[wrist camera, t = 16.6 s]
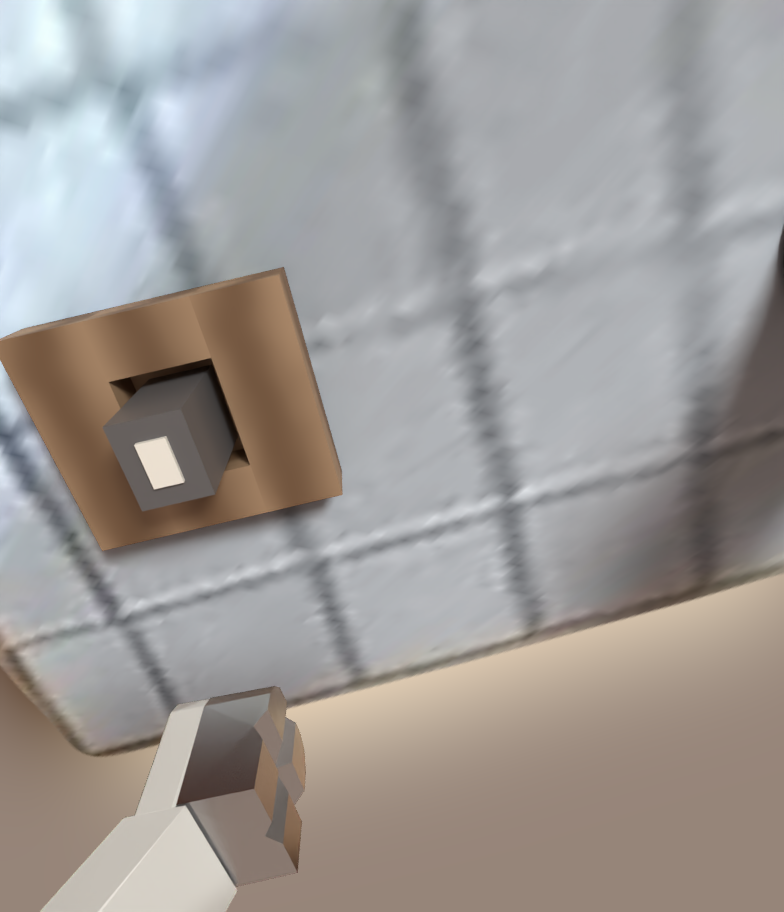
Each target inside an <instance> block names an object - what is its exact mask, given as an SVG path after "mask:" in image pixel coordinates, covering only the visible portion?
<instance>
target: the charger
mask: <svg viewBox="0 0 784 912" xmlns="http://www.w3.org/2000/svg"><path fill="white" fill-rule="evenodd" d="M102 428H103V430H104V432H105V434H106V436H107V438H108V440H109V443H110V445H111V447H112V449H113V451H114V453H115V455H116V457H117V459H118V461H119V464H120V466H121V468H122V470H123V472H124V474H125V476H126V478H127V480H128V482H129V485H130V487H131V489H132V491H133V493H134V495H135V497H136V499H137V501H138V504H139V506H140V508H141V510H142V511H147V510H151V509H155V508H160V507H164V506H168V505H172V504H177V503H181V502H185V501H190V500H194V499H198V498H203V497H207V496H211V495H215V494H216V491H217V489H218V486H219V483H220V481H221V478H222V476H223V473H224V470H225V468H226V465H227V463H228V460H229V458H230V455H231V452H232V450H233V447H234V445H235V442H236V439H237V437H238V435H237V432H236V430H235V427H234V424H233V421H232V419H231V416H230V413H229V410H228V408H227V405H226V402H225V399H224V397H223V394H222V391H221V388H220V386H219V383H218V380H217V377H216V375H215V372H214V369H213V366H212V364H211V365H207V366H203V367H198V368H194V369H190V370H186V371H181V372H177V373H173V374H168V375H164V376H160V377H156V378H151V379H149V380H148V381H147V382H146V383H145V384H144V385H143V386H142V387H141V388H140V389H139V390H138V391H137V392H136V393H135V394H134V395H133V396H132V397H131V398H130V399H129V400H128V401H127V402H126V403H125V404H124V406H123V407H122V408H121V409H120V410H119V411H118V412H117V413H116V414H115V415H114V416H113V417H112V418H111V419H110V420H109V421H108V422H107V423H106V424H105V425H104V426H103V427H102Z"/></svg>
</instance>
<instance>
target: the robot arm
mask: <svg viewBox="0 0 784 912" xmlns="http://www.w3.org/2000/svg"><path fill="white" fill-rule="evenodd" d="M286 708H287V701H286V699H285V697H284V695H283V693H282V691H281V689H280V687H275V686H273V687H268V688H262V689H257V690H251V691H246V692H240V693H235V694H229V695H224V696H218V697H213V698H210V699H206V700H200V701H195V702H189V703H184V704H178V705H177V706H176V707H175V709H174V710H173V711H172V712H171V714H170V715H169V718H168V721H167V724H166V727H165V729H164V732H163V735H162V738H161V741H160V744H159V746H158V750H157V752H156V755H155V758H154V761H153V764H152V766H151V770H150V772H149V775H148V778H147V781H146V784H145V786H144V789H143V792H142V795H141V798H140V801H139V804H138V807H137V809H136V812H135V815H134V816H129V817H125V818H123V819H122V820H121V821H120V822H119V824H118V825H117V826H116V827H115V828H114V829H113V830H112V831H111V832H110V834H109V835H108V836H107V837H106V838H105V839H104V840H103V841H102V843H101V844H100V845H99V846H98V847H97V848H96V849H95V850H94V851H93V853H92V854H91V855H90V856H89V857H88V858H87V859H86V860H85V862H84V863H83V864H82V865H81V866H80V867H79V868H78V869H77V870H76V872H75V873H74V874H73V875H72V876H71V877H70V878H69V879H68V880H67V882H66V883H65V884H64V885H63V886H62V887H61V888H60V889H59V891H58V892H57V893H56V894H55V895H54V896H53V897H52V898H51V900H50V901H49V902H48V903H47V904H46V905H45V906H44V907H43V908H42V909H41V911H40V912H226V910H227V909H228V907H229V905H230V903H231V902H232V900H233V898H234V896H235V894H236V893H237V888H236V887H237V886H242V885H246V884H250V883H255V882H259V881H263V880H268V879H272V878H276V877H281V876H285V875H290V874H294V873H298V862H299V850H300V839H301V827H302V821H301V819H300V817H299V815H298V812H297V810H296V808H295V806H294V805H295V804H296V802H297V801H298V799H299V798H300V796H301V795H302V793H303V792H304V789H305V774H306V767H305V754H304V747H303V743H302V739H301V734H300V732H299V729H298V727H297V725H296V723H295V722H293V721H292V720H289V719H288V718H286V717H285V716H286Z"/></svg>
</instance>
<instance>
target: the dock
mask: <svg viewBox="0 0 784 912" xmlns="http://www.w3.org/2000/svg"><path fill="white" fill-rule="evenodd" d="M0 360H1V362H2V364H3V366H4V368H5V370H6V372H7V373H8V375H9V377H10V379H11V381H12V383H13V385H14V386H15V388H16V390H17V392H18V394H19V396H20V398H21V400H22V401H23V403H24V405H25V407H26V409H27V411H28V413H29V415H30V416H31V418H32V420H33V422H34V424H35V426H36V428H37V430H38V431H39V433H40V435H41V437H42V439H43V441H44V443H45V445H46V446H47V448H48V450H49V452H50V454H51V456H52V458H53V460H54V461H55V463H56V465H57V467H58V469H59V471H60V473H61V474H62V476H63V478H64V480H65V482H66V484H67V486H68V488H69V489H70V491H71V493H72V495H73V497H74V499H75V501H76V503H77V504H78V506H79V508H80V510H81V512H82V514H83V516H84V518H85V519H86V521H87V523H88V525H89V527H90V529H91V531H92V533H93V534H94V536H95V538H96V540H97V542H98V544H99V546H100V548H101V549H102V551H104V550H109V549H113V548H117V547H121V546H126V545H130V544H134V543H138V542H143V541H147V540H151V539H156V538H160V537H164V536H168V535H173V534H177V533H181V532H185V531H190V530H194V529H198V528H202V527H207V526H211V525H215V524H220V523H224V522H228V521H232V520H237V519H241V518H245V517H249V516H254V515H258V514H262V513H266V512H271V511H275V510H279V509H284V508H288V507H292V506H296V505H301V504H305V503H309V502H313V501H318V500H322V499H326V498H330V497H335V496H339V495H342V470H341V466H340V463H339V459H338V456H337V452H336V449H335V445H334V442H333V438H332V435H331V431H330V428H329V424H328V421H327V417H326V414H325V410H324V407H323V403H322V400H321V396H320V393H319V389H318V386H317V382H316V379H315V375H314V372H313V368H312V365H311V361H310V358H309V354H308V350H307V347H306V343H305V340H304V336H303V333H302V329H301V326H300V322H299V319H298V315H297V312H296V308H295V305H294V301H293V298H292V294H291V291H290V287H289V284H288V280H287V277H286V273H285V270H284V267H282V268H278V269H274V270H269V271H265V272H261V273H257V274H252V275H248V276H244V277H240V278H235V279H231V280H227V281H223V282H219V283H214V284H210V285H206V286H202V287H197V288H193V289H189V290H185V291H180V292H176V293H172V294H168V295H164V296H159V297H155V298H151V299H147V300H142V301H138V302H134V303H130V304H125V305H121V306H117V307H113V308H109V309H104V310H100V311H96V312H92V313H87V314H83V315H79V316H75V317H71V318H66V319H62V320H58V321H54V322H49V323H45V324H41V325H37V326H32V327H28V328H24V329H21V330H19V331H17V332H15V333H12V334H10V335H8V336H6V337H3V338H1V339H0ZM211 364H212V366H213V369H214V372H215V375H216V377H217V380H218V383H219V386H220V388H221V391H222V394H223V397H224V399H225V402H226V405H227V408H228V410H229V413H230V416H231V419H232V421H233V424H234V427H235V430H236V432H237V435H238V437H237V439H236V442H235V445H234V447H233V450H232V452H231V455H230V458H229V460H228V463H227V465H226V468H225V470H224V473H223V476H222V478H221V481H220V483H219V486H218V489H217V491H216V494H215V495H211V496H207V497H203V498H198V499H194V500H190V501H185V502H181V503H177V504H172V505H168V506H164V507H160V508H155V509H151V510H147V511H142V510H141V508H140V506H139V504H138V501H137V499H136V497H135V495H134V493H133V491H132V489H131V487H130V485H129V482H128V480H127V478H126V476H125V474H124V472H123V470H122V468H121V466H120V464H119V461H118V459H117V457H116V455H115V453H114V451H113V449H112V447H111V445H110V443H109V440H108V438H107V436H106V434H105V432H104V430H103V428H102V427H103V426H104V425H105V424H106V423H107V422H108V421H109V420H110V419H111V418H112V417H113V416H114V415H115V414H116V413H117V412H118V411H119V410H120V409H121V408H122V407H123V406H124V404H125V403H126V402H127V401H128V400H129V399H130V398H131V397H132V396H133V395H134V394H135V393H136V392H137V391H138V390H139V389H140V388H141V387H142V386H143V385H144V384H145V383H146V382H147V381H148V380H149V379H151V378H156V377H160V376H164V375H168V374H173V373H177V372H181V371H186V370H190V369H194V368H198V367H203V366H207V365H211Z"/></svg>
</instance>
